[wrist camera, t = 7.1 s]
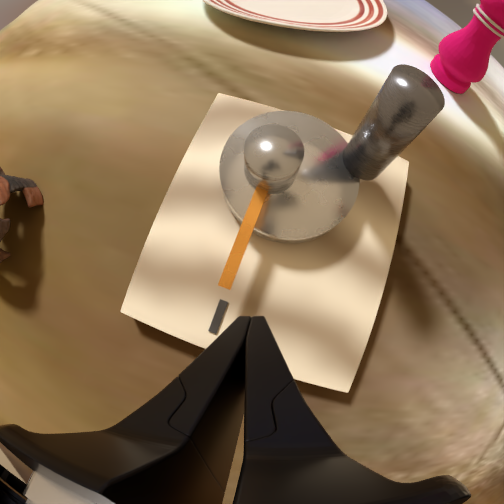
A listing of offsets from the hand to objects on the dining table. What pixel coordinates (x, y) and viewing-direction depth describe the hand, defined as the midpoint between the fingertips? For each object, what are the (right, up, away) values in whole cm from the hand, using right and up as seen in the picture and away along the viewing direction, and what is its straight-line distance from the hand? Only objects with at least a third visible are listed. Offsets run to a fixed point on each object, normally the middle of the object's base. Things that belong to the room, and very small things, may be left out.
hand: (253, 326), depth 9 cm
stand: (+2, +4, +14) cm, 14 cm away
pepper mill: (+27, +27, +18) cm, 42 cm away
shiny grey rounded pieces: (+3, +7, +12) cm, 14 cm away
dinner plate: (+6, +40, +20) cm, 45 cm away
